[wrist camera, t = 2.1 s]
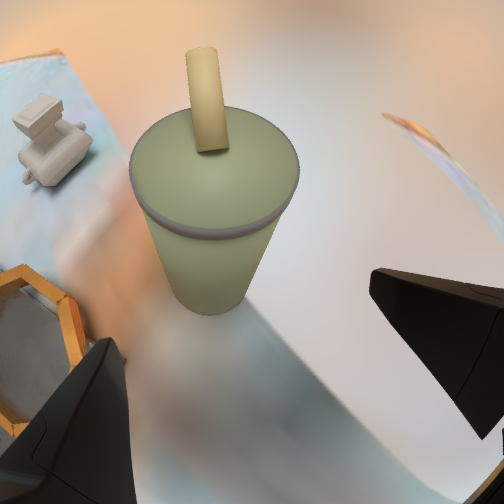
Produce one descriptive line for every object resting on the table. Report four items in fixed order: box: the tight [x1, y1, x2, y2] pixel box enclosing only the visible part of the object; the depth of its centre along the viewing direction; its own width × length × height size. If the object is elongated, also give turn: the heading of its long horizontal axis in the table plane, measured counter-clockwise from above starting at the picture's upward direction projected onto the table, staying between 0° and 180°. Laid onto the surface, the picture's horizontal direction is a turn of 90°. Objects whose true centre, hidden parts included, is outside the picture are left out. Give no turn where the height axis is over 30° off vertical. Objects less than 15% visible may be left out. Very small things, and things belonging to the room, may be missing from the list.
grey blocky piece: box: [12, 93, 93, 186], centre depth 20 cm, size 9×7×8 cm
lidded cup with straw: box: [129, 47, 300, 315], centre depth 14 cm, size 7×6×16 cm
